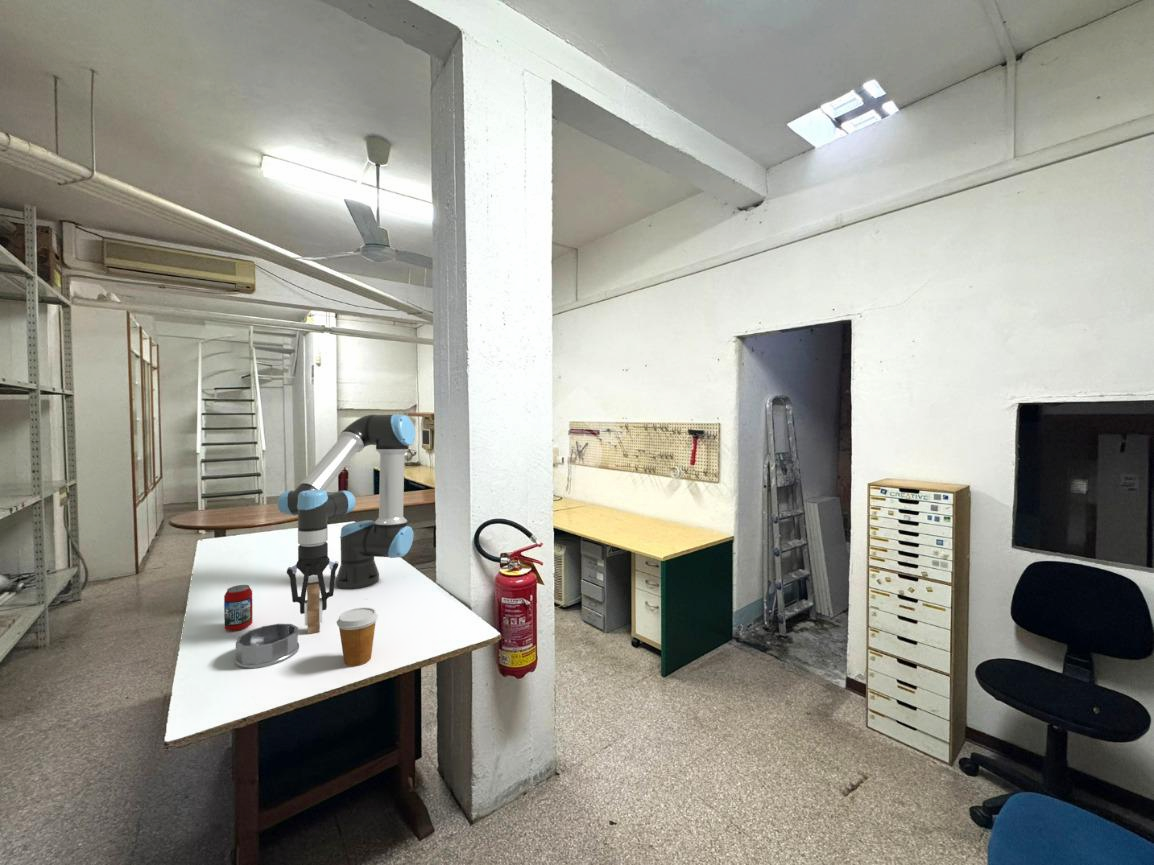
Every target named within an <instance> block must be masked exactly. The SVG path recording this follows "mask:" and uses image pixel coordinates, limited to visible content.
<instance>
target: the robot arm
mask: <svg viewBox="0 0 1154 865" xmlns="http://www.w3.org/2000/svg"><path fill="white" fill-rule="evenodd" d="M337 438H338V439H337V441H336V443H334V445H333V446H332V447H331V448H330V449H329V450H328V452H327V453H326V454H325V455H324V456H323V457H322V458H321V460H319V461H318V463H317V464H316V465H315V466H314V467H313V468H312V470H311V471H310V472H309V473H308V474H307V475H306V477H304V479H303V480H302V481H301V483H299V484H298V486H296V488H295V489H294V490H286V491H283V492H282V493H280V495H279V496H278V498H277V509H278V510H279V512H280V513H282V515H283V514H284V515H289V516H297V544H298V546H297V557H298V558H297V561H296V564H295V565H293V566H289V567H287V569H286V574H287V575H288V577H289V583H290V590H291V598H292V602H293V603H298V604H299V613H300V615H302V614H303V615H304V626H305V627H306V626H308V623H307V599H306V598H307V597H306V596H307V584H308V583H309V579H310V578H309V577H311V576H317V580H318V581H319V586H320V599H319V623H320V624H322V623H323V617H324V616H323V611H326V610H327V608H328V604H327V603H328V602H327V600H328V598H330V597H331V598H332V597H333V596H334V591H335V587H337V588H339V589H345V590H347V589H348V590H350V589H351V590H353V589H354V590H355V589H361V588H365V587H369V586H373V585H375V584H376V583H378V582H379V580H380V572H379V570H378V567H377V564H376V561H375V557H377V558H378V557H379V558H390V559H394V558H403V557H405V556H406V555H407V554H408V552H409V551H410V549H411V547H412V544H413V542H414V534H415V533H414V530H413V528H412V527H411V526H410V525H408V520H407V518H405V517H404V500H405V499H404V493H405V492H404V489H405V485H404V484H405V483H404V482H405V455H406V453H407V452H408V451H409V446H411V445H413V443H414V442H415V439H416V428H415V426H414V422H412V420H411V418H410V417H409V416H407V415H403V414H368V415H364V416H361V417H360V418H357V419H356V420H354V421H353V422H351V423H350V424H349V425H347V426H346V427H345V428H344V429H343V430H342V431H341V432H340V433H339V435H338V437H337ZM368 446H375V450H376V452H378V454H379V490H378V492H379V499H378V518H377V519H376V520H375V521H374V520H371V519H370V520H369V519H368V520H361V521H355V522H351V523H348V524H345V525H343V526H342V527H341V529H340V536H339V538H340V565H339V562H338V561H333V560H330V557H329V556H328V554H329V553H328V552H329V551H328V550H329V549H328V547H329V546H328V542H327V541H328V534H329V533H328V520H329V519H333V518H335V517H336V518H337V517H340V516H345V515H346V514H348V513H351V512H352V511H353V510H354V509H355V506H356V497H355V495H354V494H353V493H352V492H350V491H348V490H338V491H334V492H333V491H327V490H328V488H330V486H331V485H332V483H333V482H334V481H335V480H336V478H337V477H338V476H339V475H340V474H341V472H342V471H344V469H345V467H346V466H348V464H349V463H350V461H351V460H352V459H353V458H354V456H355V455H356V454H357V453H360V452H361V451H363V450H364V448H366V447H368ZM327 566H329V570H330V575H329V576H330V578H329V589H328V591H327V589H326V582H325V579H324V574H323V573H324V571H325V569H326V568H327ZM338 568H339V569H338ZM337 569H338V572H337V573H336V571H337ZM297 570H299V571H300V572H301V574H303V580H302V586H301V587H302V588H301V592H300V593H301V594H300V596H299V593H298V585H297V576H296V574H297ZM336 574H337V575H336ZM318 581H317V582H318Z"/></svg>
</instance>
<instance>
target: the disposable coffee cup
mask: <svg viewBox="0 0 1154 865" xmlns="http://www.w3.org/2000/svg"><path fill="white" fill-rule="evenodd" d="M378 616H379V615H378V613H377V611H376V609H375V608H372V607H357V608H356V607H355V608H352V609H349V610H346V611H344V612H342V613H341V614H340V615H339V616H338V618H337V621H336V625H337V627H338V629H339V636H340V643H341V650H342V656H343V664H344V665H345V666H347V667H358V666H362V665H364V664H366V663H368V662H369V661H370V660H371V659H372V654H373V644H374V636H375V629H376V622H377V619H378Z"/></svg>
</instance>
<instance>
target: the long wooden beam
mask: <svg viewBox="0 0 1154 865" xmlns="http://www.w3.org/2000/svg"><path fill="white" fill-rule="evenodd" d="M306 596H307V597H306V600H307V623H308V625H307V635H310V634H316V633H320V632H321V631H320V630H321V623H319V599H320V598H321V591H320V586H319V581H312V582H308V584H307V591H306Z"/></svg>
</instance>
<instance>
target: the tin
mask: <svg viewBox="0 0 1154 865" xmlns="http://www.w3.org/2000/svg"><path fill="white" fill-rule="evenodd" d="M298 636H299V627H298V626H296V625H294V624H292V623H276V624H275V623H274V624H268V625H263V626H260V627H257V628H254V629H251V630H248V631H246V632H245V633H243V634H241V635H240V636H238V637H237V640H236V642H235V656H234V657H235V658H234V664H235V666H236V667H238V668H239V669H240V668H241V669H245V670H249V669H250V670H252V669H260V668H266V667H270V666H271V667H272V666H273V665H277V664H279V663H282V662H284V661H286V660H288V659H291V658H292V657H294V655H296V654H297V653H298V652H299V649H300V643H299V642H298V641H299V637H298Z"/></svg>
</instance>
